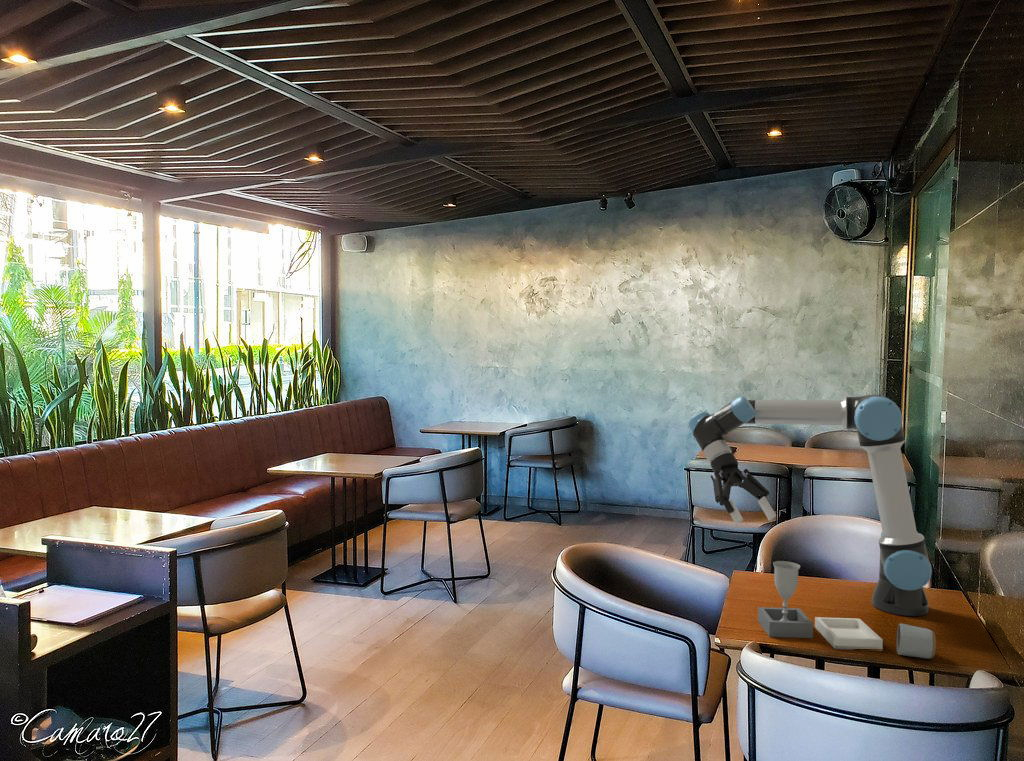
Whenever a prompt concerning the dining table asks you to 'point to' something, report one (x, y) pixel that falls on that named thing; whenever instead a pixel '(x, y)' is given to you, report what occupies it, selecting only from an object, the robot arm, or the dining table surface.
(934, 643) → the ceramic mug
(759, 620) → the charcoal collar
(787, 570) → the chalice
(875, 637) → the off-white tray
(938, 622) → the dining table surface
